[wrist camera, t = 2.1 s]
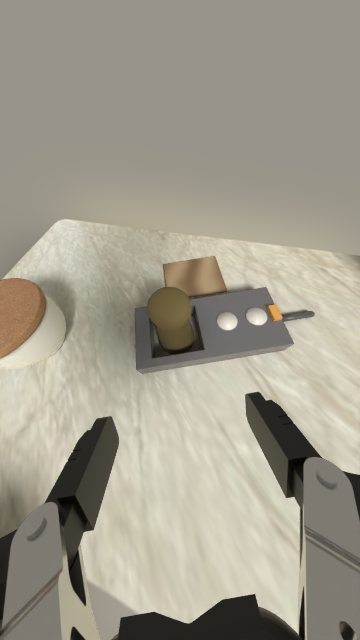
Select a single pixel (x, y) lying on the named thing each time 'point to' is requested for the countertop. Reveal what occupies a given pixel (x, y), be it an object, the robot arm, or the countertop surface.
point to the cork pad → (195, 276)
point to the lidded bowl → (28, 324)
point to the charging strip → (221, 330)
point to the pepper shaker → (172, 319)
